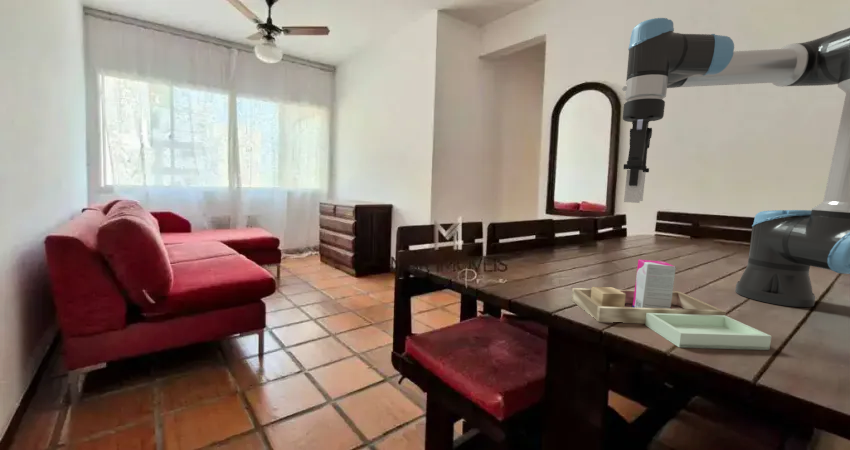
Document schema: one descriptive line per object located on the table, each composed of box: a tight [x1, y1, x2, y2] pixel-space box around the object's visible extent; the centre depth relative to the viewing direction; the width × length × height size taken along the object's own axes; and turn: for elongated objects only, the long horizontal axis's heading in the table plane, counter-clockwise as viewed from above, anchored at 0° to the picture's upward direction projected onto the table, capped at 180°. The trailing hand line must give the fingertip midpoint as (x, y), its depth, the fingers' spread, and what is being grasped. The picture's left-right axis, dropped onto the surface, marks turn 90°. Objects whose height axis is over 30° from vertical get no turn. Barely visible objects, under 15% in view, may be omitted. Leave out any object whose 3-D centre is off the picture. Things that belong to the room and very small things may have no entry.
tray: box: [644, 313, 772, 351], centre depth 70 cm, size 16×10×3 cm, turn 90°
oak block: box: [590, 286, 626, 307], centre depth 82 cm, size 5×5×5 cm
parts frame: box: [571, 287, 727, 324], centre depth 83 cm, size 26×14×3 cm, turn 90°
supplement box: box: [632, 258, 677, 309], centre depth 82 cm, size 6×6×12 cm
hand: (633, 201), depth 80 cm, fingers open, 13 cm apart
